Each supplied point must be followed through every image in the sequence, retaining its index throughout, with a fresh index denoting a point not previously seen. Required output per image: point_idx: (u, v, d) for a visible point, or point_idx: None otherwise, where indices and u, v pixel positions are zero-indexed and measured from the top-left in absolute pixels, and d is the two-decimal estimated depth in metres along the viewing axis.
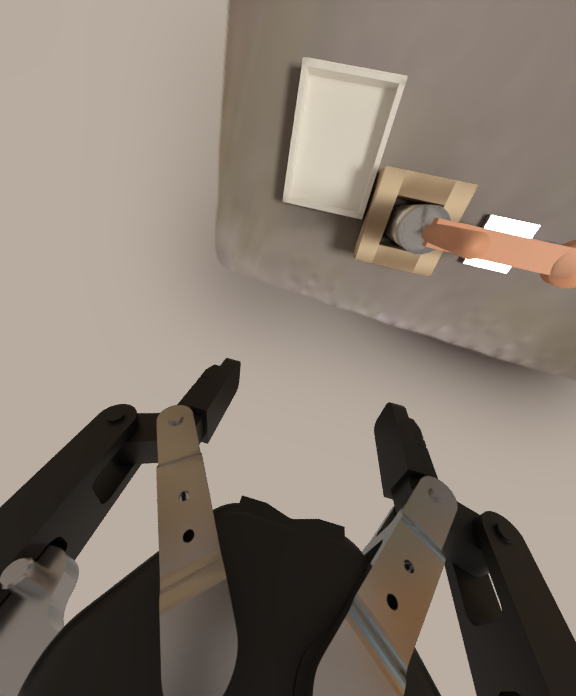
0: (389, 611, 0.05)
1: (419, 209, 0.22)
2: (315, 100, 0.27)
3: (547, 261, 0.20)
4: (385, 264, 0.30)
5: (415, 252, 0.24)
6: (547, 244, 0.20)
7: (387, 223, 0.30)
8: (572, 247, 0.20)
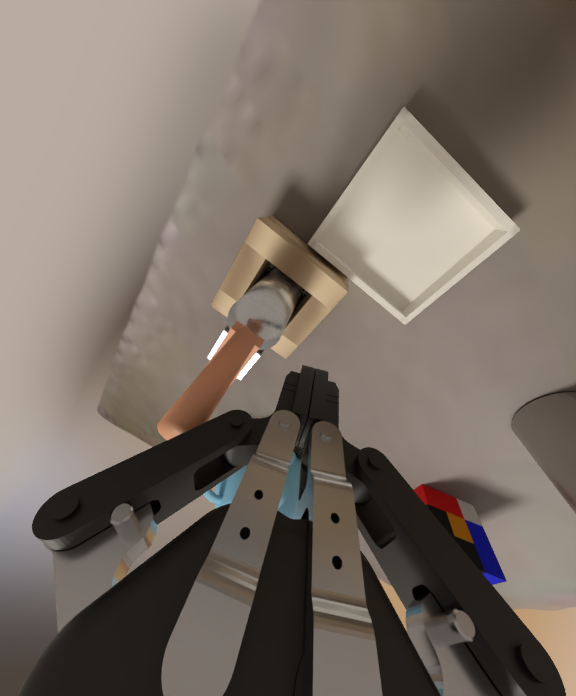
0: (338, 572, 0.05)
1: (281, 325, 0.17)
2: (466, 227, 0.20)
3: None
4: (237, 260, 0.21)
5: (232, 309, 0.17)
6: None
7: None
8: None
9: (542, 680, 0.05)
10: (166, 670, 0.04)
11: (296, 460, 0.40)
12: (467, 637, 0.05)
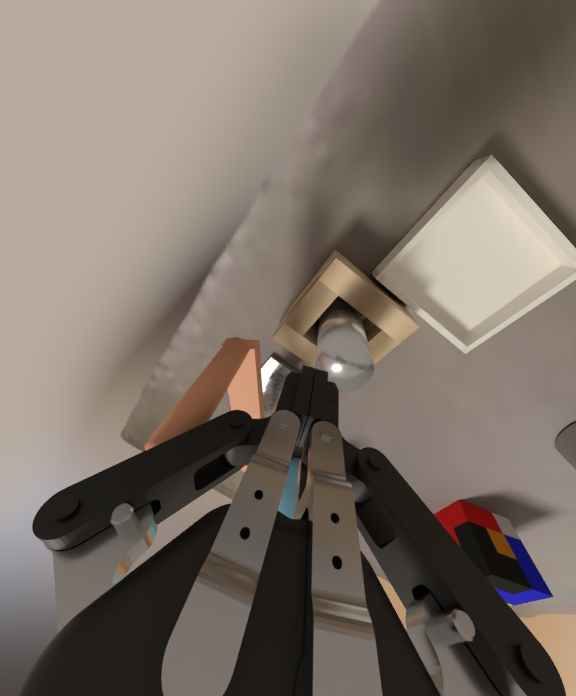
0: (338, 572, 0.05)
1: (372, 369, 0.17)
2: (533, 262, 0.21)
3: None
4: (308, 296, 0.21)
5: (322, 354, 0.17)
6: None
7: None
8: None
9: (542, 680, 0.05)
10: (166, 670, 0.04)
11: None
12: (467, 637, 0.05)
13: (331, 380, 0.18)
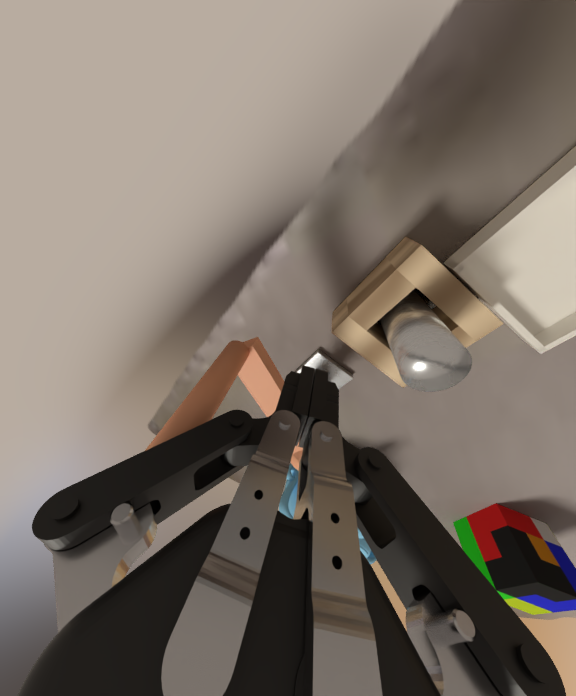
0: (338, 572, 0.05)
1: (468, 369, 0.15)
2: None
3: None
4: (381, 287, 0.19)
5: (413, 351, 0.15)
6: None
7: (421, 299, 0.22)
8: None
9: (542, 680, 0.05)
10: (166, 669, 0.04)
11: None
12: (467, 637, 0.05)
13: (416, 379, 0.17)
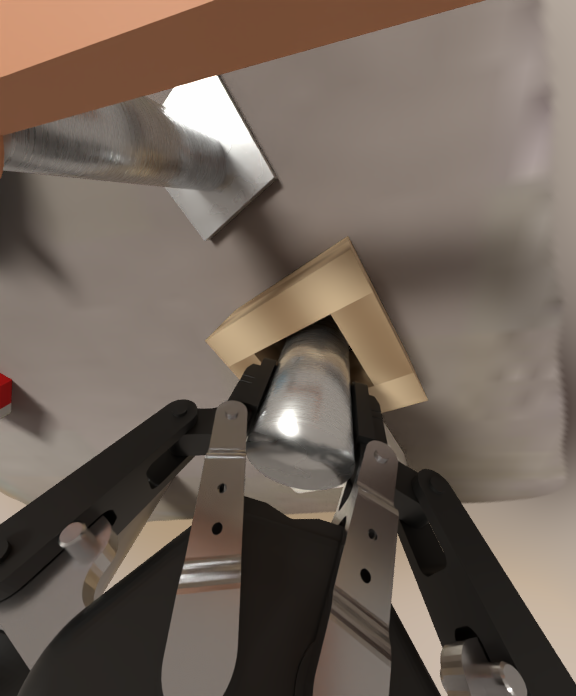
0: (365, 586, 0.05)
1: (285, 483, 0.10)
2: None
3: None
4: (398, 351, 0.12)
5: (343, 449, 0.08)
6: None
7: None
8: None
9: None
10: (168, 689, 0.04)
11: None
12: (514, 694, 0.05)
13: (276, 438, 0.09)
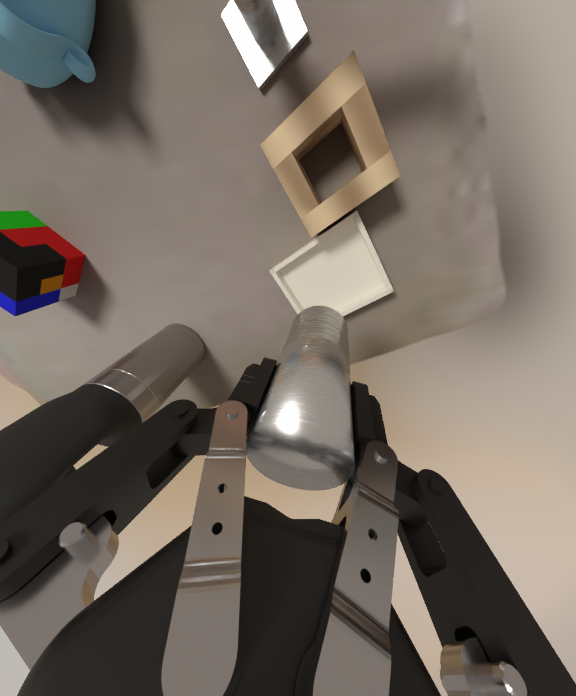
0: (365, 586, 0.05)
1: (285, 483, 0.10)
2: None
3: None
4: (381, 132, 0.21)
5: (343, 448, 0.08)
6: None
7: None
8: None
9: None
10: (168, 688, 0.04)
11: (69, 75, 0.25)
12: (514, 694, 0.05)
13: (276, 438, 0.09)
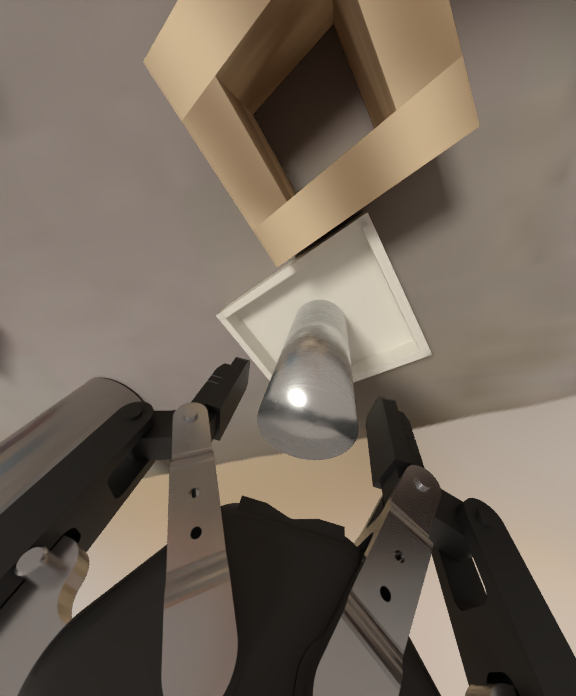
0: (383, 603, 0.05)
1: (293, 454, 0.11)
2: None
3: None
4: None
5: (348, 412, 0.09)
6: None
7: None
8: None
9: None
10: None
11: None
12: None
13: (286, 405, 0.10)
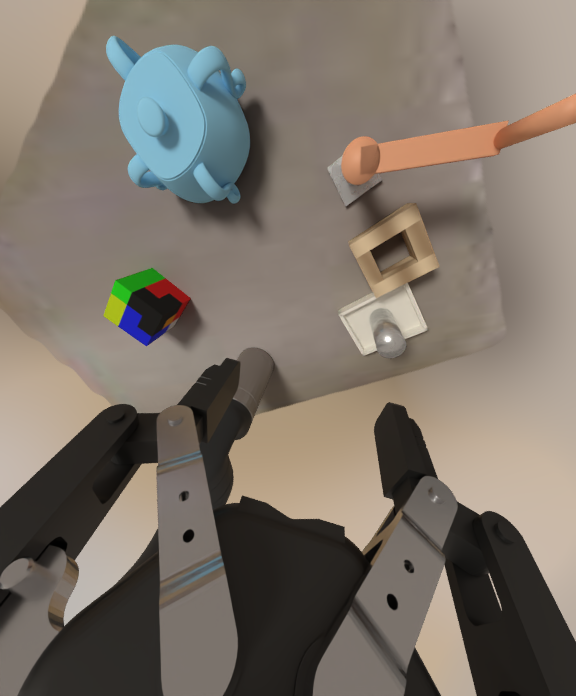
0: (389, 611, 0.05)
1: (385, 356, 0.38)
2: (369, 340, 0.49)
3: (386, 155, 0.24)
4: (429, 243, 0.34)
5: (404, 341, 0.36)
6: (395, 168, 0.24)
7: None
8: (374, 173, 0.25)
9: None
10: None
11: None
12: None
13: (387, 339, 0.36)
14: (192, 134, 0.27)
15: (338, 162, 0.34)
